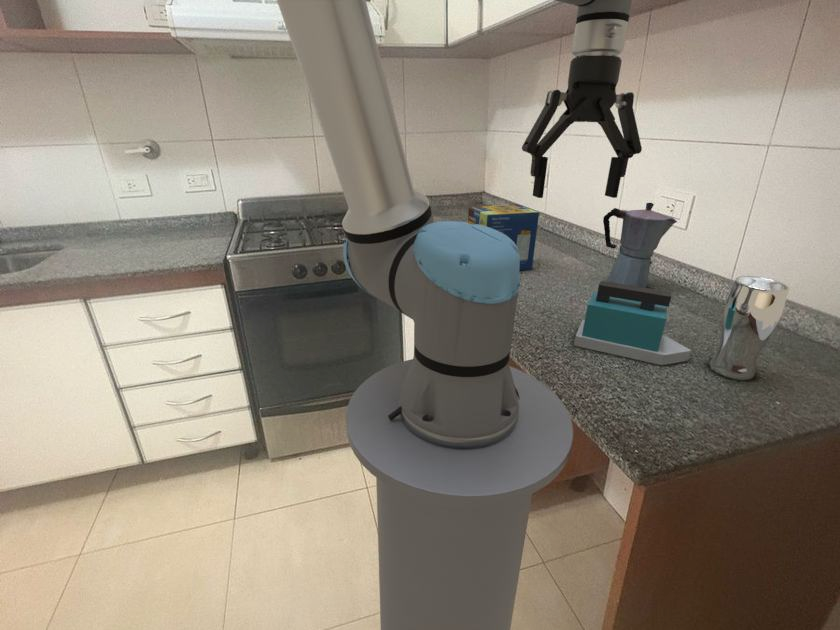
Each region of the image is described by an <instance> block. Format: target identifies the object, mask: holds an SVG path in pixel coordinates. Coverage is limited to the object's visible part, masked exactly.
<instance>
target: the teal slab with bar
mask: <svg viewBox="0 0 840 630" xmlns="http://www.w3.org/2000/svg"><path fill="white" fill-rule="evenodd" d="M671 300H672V291H667V290H661V289H653V288H648V287H646V288H643V287H636V286H630V285H624V284H618V283H611V282H608V281H604V280H600V282H599V284H598V288H597V291H593V292H592V294H591V296H590V298H589V300H588V303H587V306H586V312H585V317H584V319H582V320H581V323H580V325H579V327H578V329H577V332H576V334H575V337H574V342H573V346H574V347H578V348H583V349H587V350H590V351H591V350H592V351H596V352H601V353H604V354H609V355H614V356H618V357H623V358H626V359H631V360H636V361H640V362H644V363H651V364H653V365H659V366H666V365H671V364H676V363H684V362H688V361H689V359H690V357H691V353H692V350H691V349H690V348H688V347H686V346H685V345H682V344H681V343H679V342H677V341H676V340H674V339H672V338H670V337H668V336H667V335H663V334H664V330H665V327H666V323H667V319H668V318H667V317H668V308H669V307H670V303H671Z"/></svg>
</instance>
